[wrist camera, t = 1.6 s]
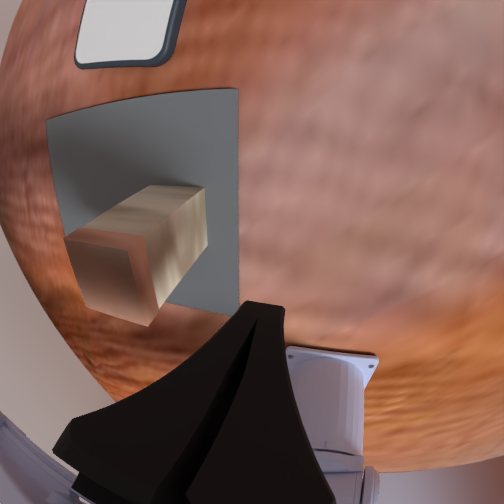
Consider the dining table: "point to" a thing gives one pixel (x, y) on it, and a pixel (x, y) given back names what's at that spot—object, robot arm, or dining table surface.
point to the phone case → (128, 33)
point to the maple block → (139, 251)
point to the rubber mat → (158, 174)
